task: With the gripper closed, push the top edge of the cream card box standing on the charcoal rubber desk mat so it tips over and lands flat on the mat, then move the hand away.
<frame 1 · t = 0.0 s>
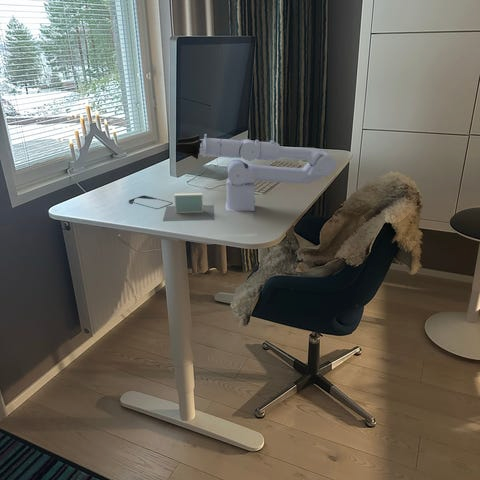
hand: (177, 145, 144), 22 cm above the table, tool horizontal, fingers open, 7 cm apart
desk mat: (189, 214, 148), on the table
phone: (150, 205, 159), on the table
card box: (189, 211, 149), point 1 cm above the table, touching desk mat
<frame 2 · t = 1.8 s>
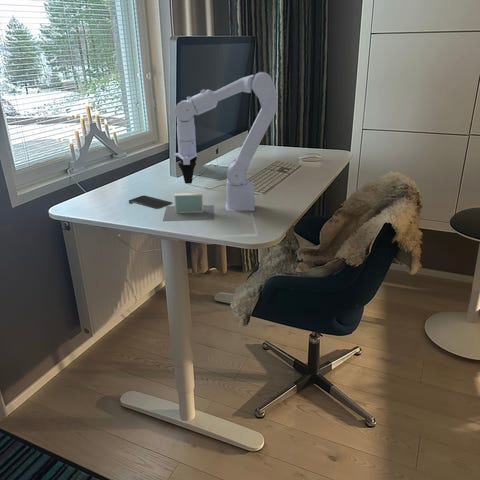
hand: (188, 181, 151), 9 cm above the table, tool pointing down, fingers open, 5 cm apart
nothing on the table moved.
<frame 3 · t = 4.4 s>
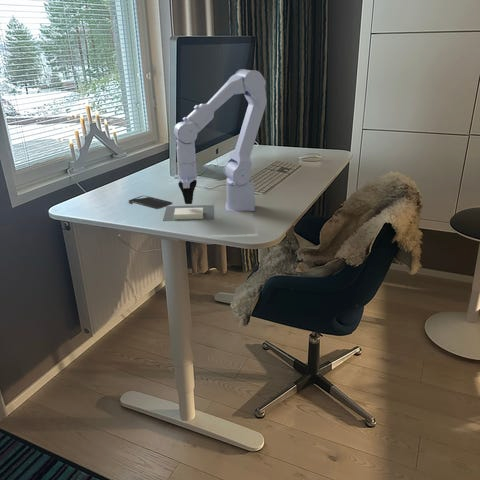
hand: (188, 203, 147), 4 cm above the table, tool pointing down, fingers closed
card box: (189, 210, 148), point 1 cm above the table, tilted 90°, touching desk mat
everything else where it was.
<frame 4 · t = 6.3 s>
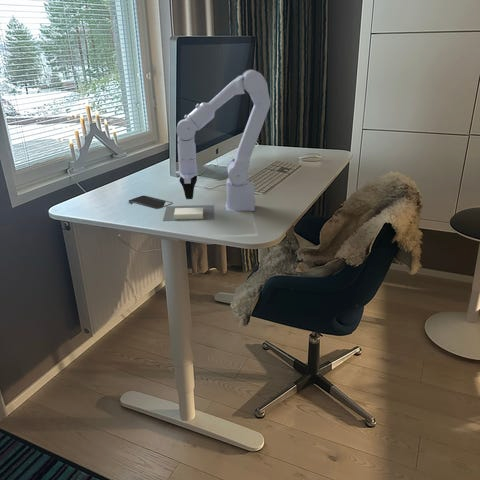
hand: (189, 198, 151), 4 cm above the table, tool pointing down, fingers closed
nothing on the table moved.
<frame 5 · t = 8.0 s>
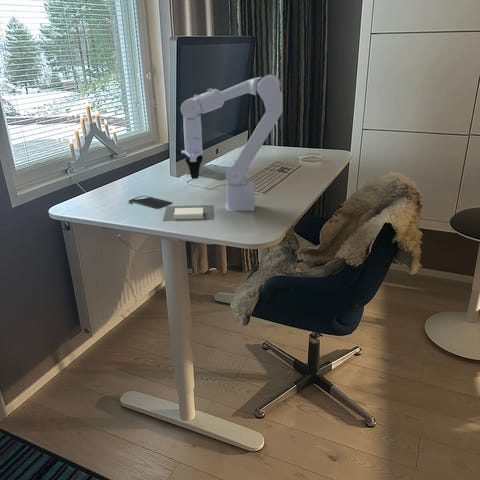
hand: (194, 178, 152), 10 cm above the table, tool pointing down, fingers closed
nothing on the table moved.
at the end: card box tilted 90°; card box inside the target area (0.1 cm from its centre), point 1.4 cm above the table; the gripper is holding nothing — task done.
